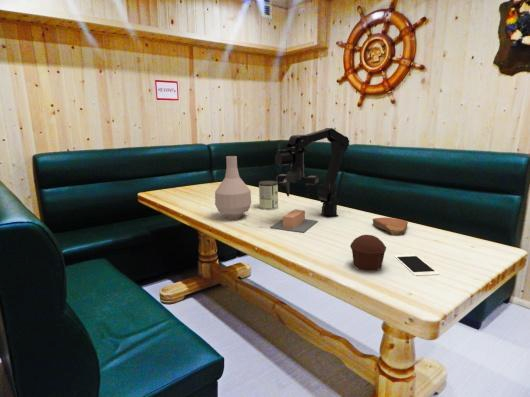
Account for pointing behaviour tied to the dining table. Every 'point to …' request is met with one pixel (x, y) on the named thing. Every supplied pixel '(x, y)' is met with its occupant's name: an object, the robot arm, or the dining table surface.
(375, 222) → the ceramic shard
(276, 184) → the coffee can
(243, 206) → the vase
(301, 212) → the terracotta block
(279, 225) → the charcoal mat
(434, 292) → the dining table surface
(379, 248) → the muffin
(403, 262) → the cell phone
